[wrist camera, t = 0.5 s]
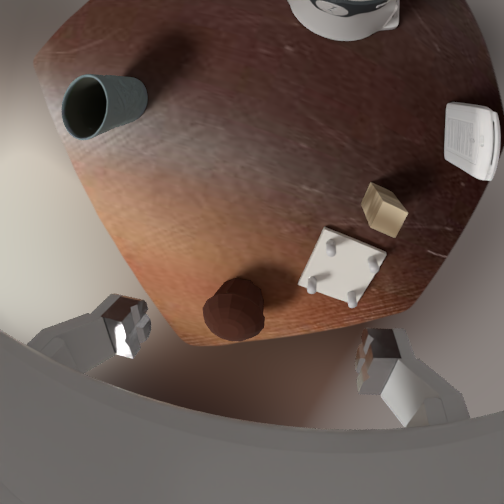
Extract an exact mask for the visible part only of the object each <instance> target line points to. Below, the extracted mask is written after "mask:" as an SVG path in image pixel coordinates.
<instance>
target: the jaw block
mask: <svg viewBox="0 0 504 504" xmlns="http://www.w3.org/2000/svg"><path fill="white" fill-rule="evenodd" d="M361 206H362V208H363V210H364V213H365V215H366V218H367V220H368V223H369V225H370V227H371V228H373V229H375V230H378V231H380V232H382V233H385V234H387V235H389V236H391V237H394V238H395V237H396V235H397V233H398V231H399V230H400V228H401V226H402V224H403V222H404V220H405V218H406V216H407V214H408V212H407V211H406V209H405V208H404V207H403V205H402V204H401V203H400V201H399V200H398V199H397V197H396V196H395V195H394V194H393V192H391V191H389V190H387V189H385V188H383V187H381V186H378V185H376V184H374V183H372V182H371V183H370V185H369V187H368V189H367V192H366V194H365V196H364V198H363V200H362V203H361Z"/></svg>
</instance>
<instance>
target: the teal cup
mask: <svg viewBox="0 0 504 504" xmlns="http://www.w3.org/2000/svg"><path fill="white" fill-rule="evenodd" d="M147 98H148V96H147V91H146V87H145V86H144V84H143V83H142V82H141V81H140V80H138V79H136V78H133V77H123V76H112V75H105V76H103V75H93V74H85V75H82V76H80V77H78V78H76V79H75V80H74V81H73V82H72V83H71V84H70V86H69V87H68V89H67V91H66V93H65V95H64V98H63V102H62V118H63V122H64V125H65V127H66V129H67V131H68V132H69V133H70V134H71V135H72V136H73V137H74V138H76V139H79V140H88V139H91V138H93V137H95V136H98V135H99V134H102V133H104V132H107V131H109V130H110V129H113V128H115V127H119V126H120V125H125V124H128V123H130V122H133V121H135V120H136V119H138V118H139V117H140V116H141V115H142V114H143V112H144V110H145V108H146V105H147V100H148V99H147Z"/></svg>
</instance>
